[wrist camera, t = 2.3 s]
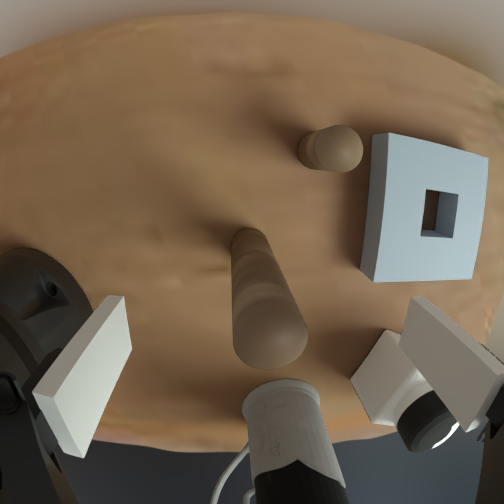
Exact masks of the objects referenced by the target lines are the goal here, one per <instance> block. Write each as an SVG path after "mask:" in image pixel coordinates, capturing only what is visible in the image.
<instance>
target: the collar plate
mask: <svg viewBox="0 0 504 504" xmlns="http://www.w3.org/2000/svg"><path fill="white" fill-rule="evenodd" d="M487 174H488V158H486V157H482V156H479V155H476V154H473V153H470V152H466V151H463V150H459V149H456V148H452V147H449V146H445V145H441V144H437V143H433V142H429V141H425V140H421V139H417V138H412V137H408V136H403V135H398V134H393V133H382V134H375V135H372V151H371V169H370V183H369V196H368V207H367V217H366V226H365V234H364V242H363V250H362V257H361V264H360V271H361V272H363V273H364V274H365V275H366V276H367V277H368V278H369V279H370V280H371V281H373V282H403V281H433V280H457V279H471V278H472V274H473V269H474V265H475V260H476V255H477V250H478V245H479V240H480V234H481V228H482V221H483V214H484V206H485V197H486V187H487ZM426 189H429V190H436V191H439V201H438V209H437V217H436V225H435V231H432V230H421V227H422V220H423V212H424V203H425V194H426Z"/></svg>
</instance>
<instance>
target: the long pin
mask: <svg viewBox="0 0 504 504" xmlns="http://www.w3.org/2000/svg"><path fill="white" fill-rule="evenodd" d="M231 274H232V324H233V346H234V350H235V352H236V354H237V356H238V357H239V358H240V359H241V360H242V361H243V362H244V363H246V364H247V365H249V366H251V367H254V368H257V369H263V370H272V369H278V368H282V367H284V366H287V365H289V364H290V363H292V362H293V361H295V360H296V359H297V358H298V357H299V356H300V355H301V354H302V352H303V351H304V349H305V347H306V345H307V341H308V330H307V327H306V324H305V322H304V320H303V317H302V315H301V313H300V311H299V309H298V306H297V304H296V302H295V300H294V298H293V295H292V293H291V291H290V289H289V287H288V284H287V282H286V280H285V278H284V276H283V274H282V271H281V269H280V267H279V265H278V263H277V261H276V258H275V256H274V254H273V252H272V250H271V248H270V245H269V243H268V241H267V239H266V237H265V235H264V234H263V233H262V232H260V231H259V230H257V229H253V228H246V229H243V230H241V231H239V232H238V233H237V234H236V235H235V236H234V237H233V239H232V243H231Z"/></svg>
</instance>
